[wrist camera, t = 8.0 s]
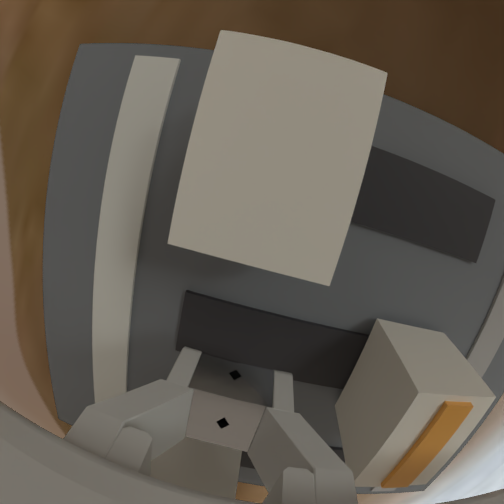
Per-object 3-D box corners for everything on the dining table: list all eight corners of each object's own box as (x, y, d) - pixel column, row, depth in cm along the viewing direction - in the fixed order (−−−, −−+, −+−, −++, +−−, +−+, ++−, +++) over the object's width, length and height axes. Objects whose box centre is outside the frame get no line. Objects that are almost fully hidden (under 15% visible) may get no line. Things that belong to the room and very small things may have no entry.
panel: (552, 202, 10) (581, 209, 8) (416, 468, 15) (424, 492, 13) (104, 57, 10) (77, 42, 8) (74, 398, 15) (57, 420, 13)
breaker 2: (343, 108, 8) (387, 73, 5) (308, 237, 9) (329, 286, 6) (243, 82, 8) (220, 29, 5) (210, 211, 10) (167, 243, 6)
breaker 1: (245, 425, 12) (234, 504, 8) (226, 473, 13) (214, 539, 9) (173, 406, 12) (143, 480, 8) (166, 457, 13) (144, 520, 9)
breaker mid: (443, 332, 10) (499, 401, 6) (398, 412, 11) (427, 488, 7) (376, 318, 10) (421, 397, 6) (334, 405, 11) (350, 491, 7)
